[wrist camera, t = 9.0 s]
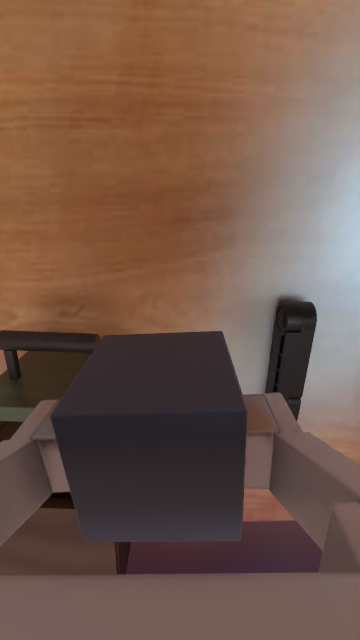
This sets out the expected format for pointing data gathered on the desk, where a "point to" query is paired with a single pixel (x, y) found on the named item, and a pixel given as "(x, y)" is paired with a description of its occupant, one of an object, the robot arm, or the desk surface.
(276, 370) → the black stapler
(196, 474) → the block
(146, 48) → the desk surface
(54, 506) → the cabinet
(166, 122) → the desk surface
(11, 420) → the drawer
